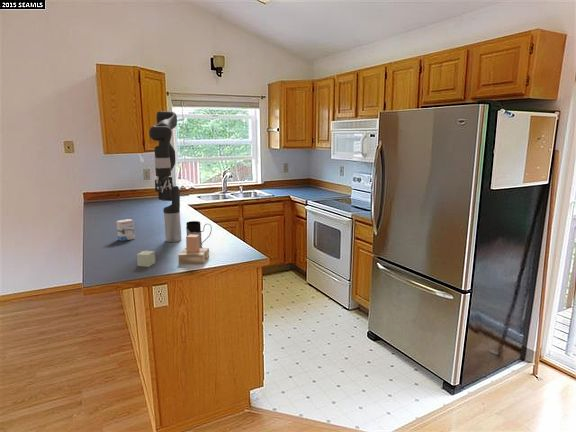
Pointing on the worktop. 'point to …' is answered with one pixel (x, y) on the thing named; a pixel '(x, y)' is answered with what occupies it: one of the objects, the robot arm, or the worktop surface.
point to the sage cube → (146, 258)
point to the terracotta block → (192, 243)
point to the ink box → (125, 229)
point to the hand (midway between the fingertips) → (165, 198)
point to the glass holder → (195, 230)
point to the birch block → (194, 256)
